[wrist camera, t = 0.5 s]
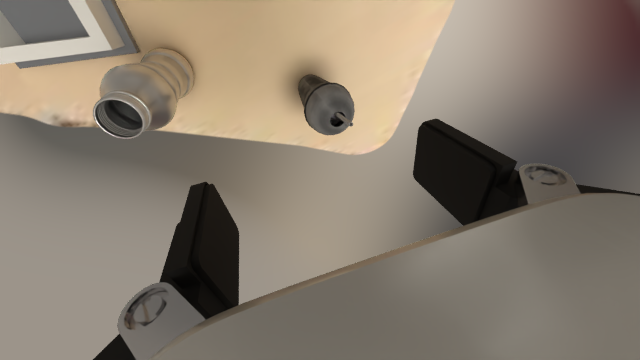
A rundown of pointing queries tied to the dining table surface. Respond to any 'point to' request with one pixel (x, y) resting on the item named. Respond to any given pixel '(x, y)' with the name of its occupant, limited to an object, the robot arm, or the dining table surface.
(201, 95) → the dining table surface
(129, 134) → the plastic bottle
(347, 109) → the beverage cup
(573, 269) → the robot arm
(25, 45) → the socket
